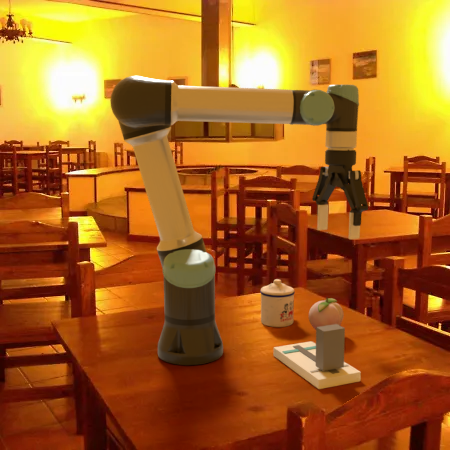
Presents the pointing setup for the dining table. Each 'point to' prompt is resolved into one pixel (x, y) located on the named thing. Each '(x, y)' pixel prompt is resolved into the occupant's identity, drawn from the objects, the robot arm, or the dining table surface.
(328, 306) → the decorative fruit
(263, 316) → the teacup with lid
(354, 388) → the dining table surface
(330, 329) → the fader tab
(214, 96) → the robot arm
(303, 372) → the slider console
